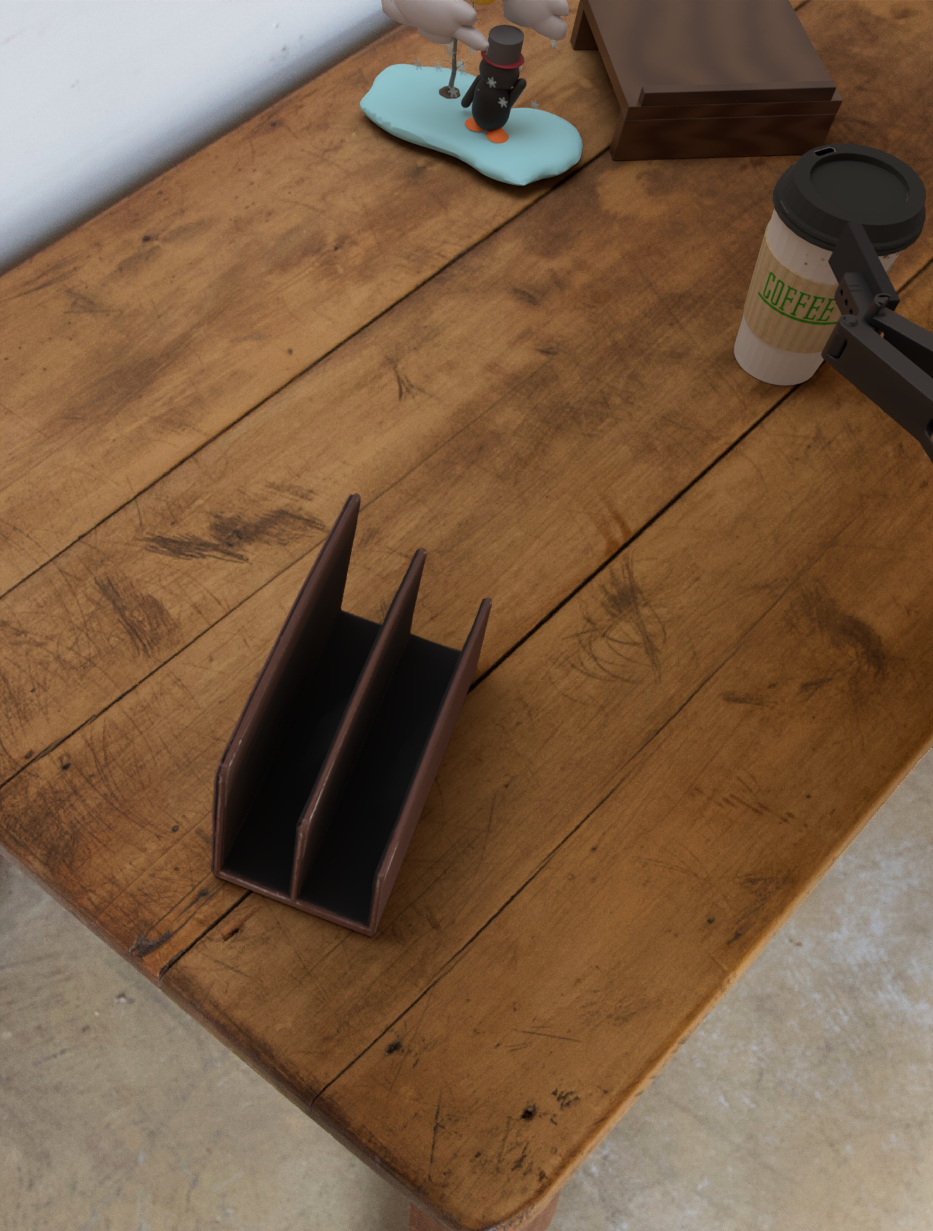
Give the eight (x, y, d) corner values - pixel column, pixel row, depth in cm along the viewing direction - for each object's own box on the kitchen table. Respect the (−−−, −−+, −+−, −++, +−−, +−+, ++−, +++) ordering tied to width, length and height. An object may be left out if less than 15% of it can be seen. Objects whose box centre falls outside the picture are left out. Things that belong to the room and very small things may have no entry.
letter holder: (208, 877, 72) (204, 757, 60) (331, 616, 82) (348, 468, 70) (373, 942, 70) (403, 831, 58) (478, 666, 80) (522, 523, 68)
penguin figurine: (598, 154, 108) (648, -25, 95) (529, 215, 104) (572, 36, 91) (409, 65, 115) (432, -114, 102) (337, 118, 110) (351, -61, 97)
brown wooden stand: (759, 34, 118) (784, -33, 113) (819, 154, 108) (849, 86, 103) (569, 40, 117) (585, -28, 112) (613, 160, 108) (632, 93, 102)
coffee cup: (761, 419, 92) (847, 248, 79) (683, 332, 96) (752, 158, 84) (869, 380, 94) (970, 208, 81) (788, 297, 99) (871, 123, 86)
